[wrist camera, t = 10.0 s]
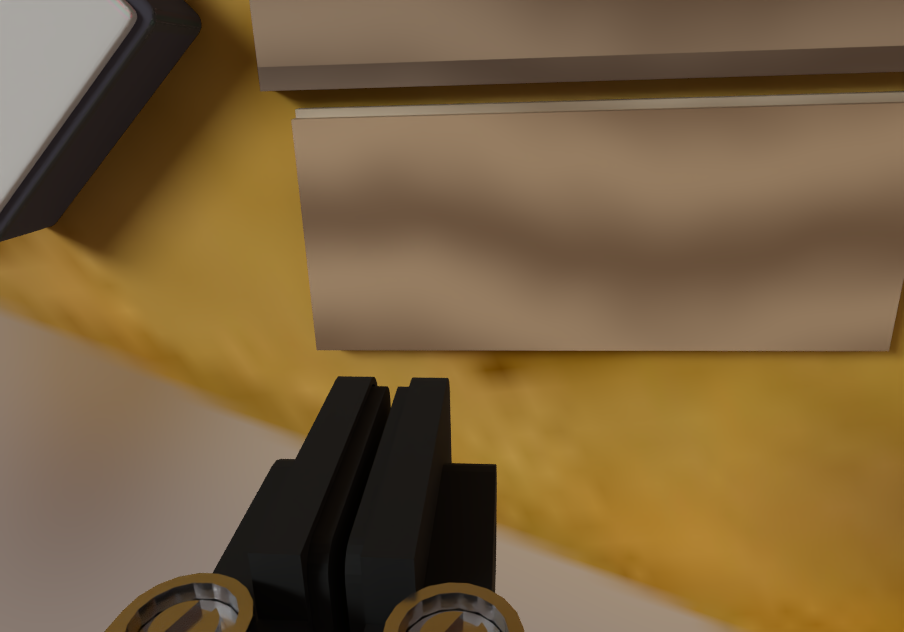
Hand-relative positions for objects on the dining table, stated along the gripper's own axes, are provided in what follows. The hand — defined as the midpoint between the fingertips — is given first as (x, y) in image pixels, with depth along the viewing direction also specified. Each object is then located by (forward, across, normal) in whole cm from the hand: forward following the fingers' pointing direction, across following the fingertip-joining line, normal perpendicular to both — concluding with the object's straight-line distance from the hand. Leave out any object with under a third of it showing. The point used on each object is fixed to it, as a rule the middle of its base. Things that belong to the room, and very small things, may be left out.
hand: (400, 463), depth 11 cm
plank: (+18, -5, +1) cm, 18 cm away
